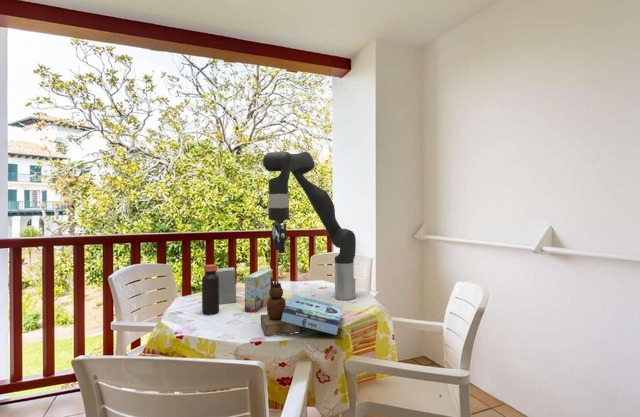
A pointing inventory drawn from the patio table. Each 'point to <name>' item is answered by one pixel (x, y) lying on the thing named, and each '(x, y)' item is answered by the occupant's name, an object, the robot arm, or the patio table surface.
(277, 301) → the wooden figurine
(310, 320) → the gum box
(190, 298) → the patio table surface
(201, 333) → the patio table surface
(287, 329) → the walnut stand
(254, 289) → the snack box
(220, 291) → the skincare box
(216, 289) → the bottle
